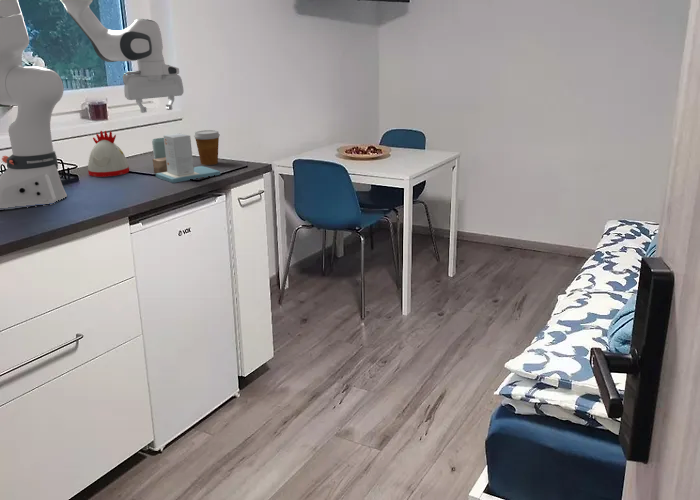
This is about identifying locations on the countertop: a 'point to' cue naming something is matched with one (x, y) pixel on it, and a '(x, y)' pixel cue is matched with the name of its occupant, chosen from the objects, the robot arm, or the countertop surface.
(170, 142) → the small box
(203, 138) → the disposable coffee cup
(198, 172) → the light blue book
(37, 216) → the countertop surface
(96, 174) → the kitchen timer
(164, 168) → the walnut block
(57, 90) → the robot arm
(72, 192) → the countertop surface
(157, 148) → the cup
